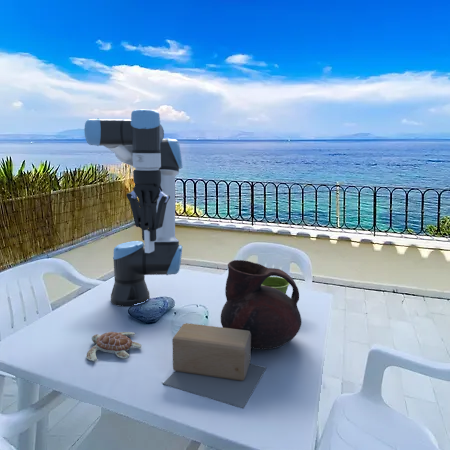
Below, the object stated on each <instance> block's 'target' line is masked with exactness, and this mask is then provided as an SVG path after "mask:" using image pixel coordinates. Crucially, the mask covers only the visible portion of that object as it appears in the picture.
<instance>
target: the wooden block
mask: <svg viewBox="0 0 450 450" xmlns="http://www.w3.org/2000/svg"><path fill="white" fill-rule="evenodd" d="M251 350H252V348H251V333H250V331H248V330H239V329H231V328H223V327H221V326H213V325H205V324H204V325H203V324H198V323H197V324H196V323H187V322H185V323H183V324H182V325H181V326H180V327H179V329H178V330H177V332H176V333H175V334H174V336H173V337H172V370H173V371H174V372H175V371H179V372H186V373H192V374H199V375H206V376H213V377H219V378H226V379H233V380H239V381H243V380H244V379H245V377H246V374H247V371H248V367H249V364H251V357H252V356H251V353H252V351H251Z"/></svg>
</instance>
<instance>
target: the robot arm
mask: <svg viewBox="0 0 450 450" xmlns="http://www.w3.org/2000/svg"><path fill="white" fill-rule="evenodd" d="M160 116H161V115H160V112H159V111H158V110H156V109H155V110H154V109H134V110H132V111H131V114H130V119H117V118H115V119H114V118H113V119H111V118H89V119H87V120H85V123H84V129H83V130H84V132H83V133H84V137H85V142H86V143H87V144H88V145H90V146H95V147H96V146H97V147H99V146H100V147H101V146H103V147H105V148H106V149H107V150H109V151H110V152H111V153H114V154H115V157H116V158H117V159H118V160H119V161H120V162H122V163H124V164H126V165H128V166H131V167H133V168H134V169H133V170H132V175H133V183H134V187H133V190H132V191H131V192H128V193H126V198H127V199H128V201H129V203H130V208H131V212H132V216H133V221H134V225H135V227H136V228H140V230H141V239H142V241H140V240H132V241H127V242H123V243H119V244H117V245H116V246H115V247H114V249H113V257H112V258H113V274H114V275H113V276H114V283H113V285H112V286H113V287H112V290H111V293H110V302H111V304H112V305H115V306H117V307H123V308H124V307H125V308H127V307H133V306H132V305H134V304H137V303H141V302H144V301H146V300H147V299H149V300H150V291H149V289H148V286H147V283H146V280H145V276H158V275H159V276H160V275H161V276H163V275H166V276H169V275H178V273H179V271H180V269H181V264H182V263H181V262H182V254H183V246H182V244H180V243H179V242H180V240H179V239H177V237H176V177H177V176H178V174H179V173H180V169H181V170H182V169H183V160H182V153H181V146H180V145H181V144H180V142H179V140H177V139H174V138H164V137H165V130H164V127H163V126H162V124H161V119H160ZM143 241H144V242H143Z"/></svg>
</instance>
